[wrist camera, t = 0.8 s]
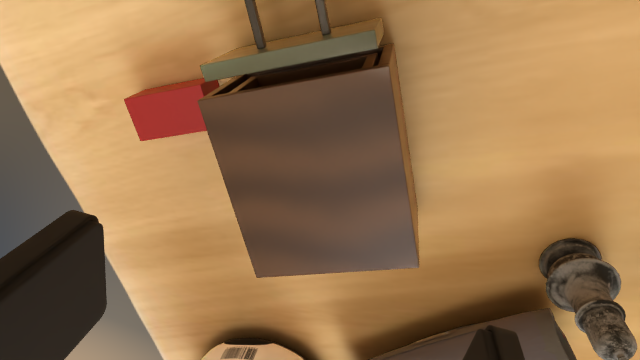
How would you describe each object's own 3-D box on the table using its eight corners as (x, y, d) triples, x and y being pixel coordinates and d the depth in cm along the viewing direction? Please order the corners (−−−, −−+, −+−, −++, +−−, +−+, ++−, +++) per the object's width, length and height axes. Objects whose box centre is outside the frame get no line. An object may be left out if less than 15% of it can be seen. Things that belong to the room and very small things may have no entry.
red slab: (144, 89, 41) (123, 99, 38) (216, 75, 39) (200, 84, 36) (159, 129, 43) (140, 141, 40) (229, 117, 41) (214, 129, 38)
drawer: (212, -37, 34) (166, -38, 28) (367, -79, 31) (356, -91, 24) (279, 197, 42) (255, 239, 36) (406, 183, 39) (406, 226, 33)
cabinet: (240, 72, 39) (196, 100, 30) (393, 43, 35) (389, 65, 27) (283, 222, 45) (256, 278, 37) (417, 209, 41) (419, 268, 33)
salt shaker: (531, 284, 43) (571, 389, 32) (540, 234, 40) (587, 330, 29) (597, 288, 41) (661, 399, 31) (611, 237, 39) (686, 338, 28)
